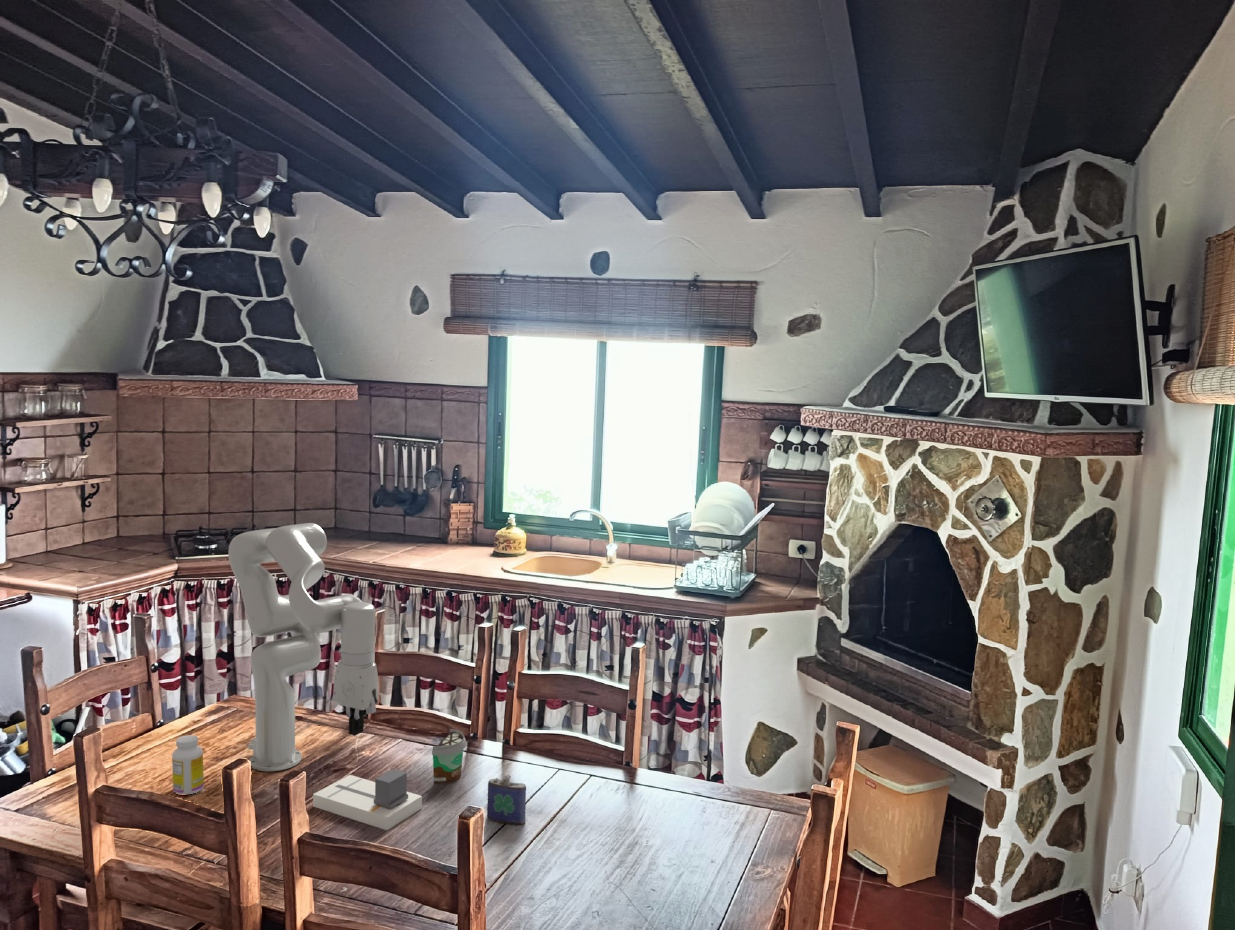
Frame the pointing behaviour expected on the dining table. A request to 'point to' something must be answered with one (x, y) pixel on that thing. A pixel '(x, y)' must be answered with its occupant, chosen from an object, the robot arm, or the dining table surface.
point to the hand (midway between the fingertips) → (356, 732)
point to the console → (363, 803)
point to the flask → (506, 801)
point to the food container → (448, 758)
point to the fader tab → (391, 789)
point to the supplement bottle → (187, 766)
